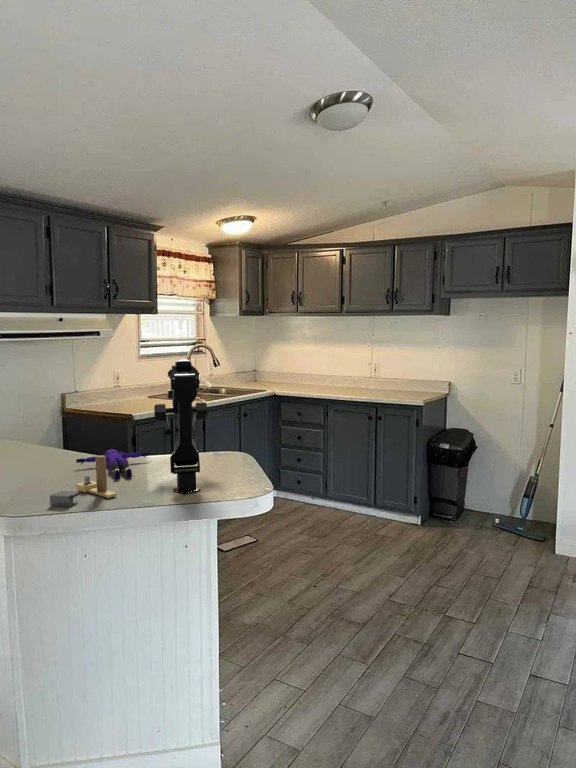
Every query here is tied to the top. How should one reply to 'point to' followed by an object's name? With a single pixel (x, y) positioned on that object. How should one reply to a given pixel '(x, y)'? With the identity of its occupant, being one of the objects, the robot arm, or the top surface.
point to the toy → (116, 461)
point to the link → (98, 480)
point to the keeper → (63, 498)
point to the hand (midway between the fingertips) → (180, 427)
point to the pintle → (87, 481)
